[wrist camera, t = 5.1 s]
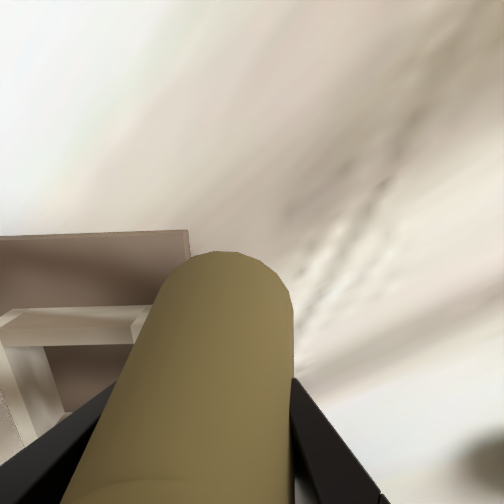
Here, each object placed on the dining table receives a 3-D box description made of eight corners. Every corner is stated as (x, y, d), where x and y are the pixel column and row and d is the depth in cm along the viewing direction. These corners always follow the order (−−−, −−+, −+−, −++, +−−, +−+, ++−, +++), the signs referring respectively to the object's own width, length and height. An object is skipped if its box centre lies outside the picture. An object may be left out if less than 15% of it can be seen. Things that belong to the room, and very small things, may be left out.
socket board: (212, 450, 24) (205, 500, 20) (58, 452, 24) (23, 502, 20) (187, 229, 17) (170, 245, 14) (-20, 237, 18) (-89, 254, 14)
